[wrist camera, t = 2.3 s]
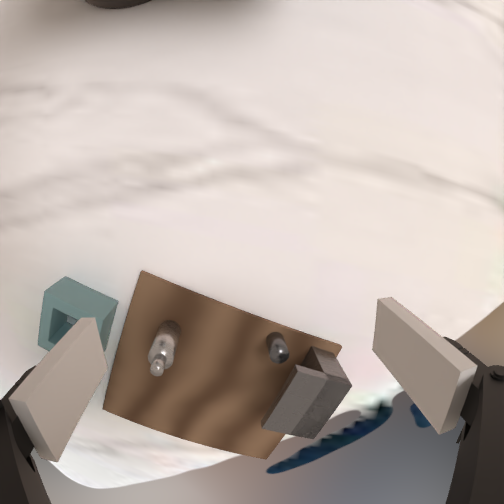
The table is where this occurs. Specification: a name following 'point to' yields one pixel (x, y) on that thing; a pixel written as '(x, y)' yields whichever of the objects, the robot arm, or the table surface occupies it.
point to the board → (203, 369)
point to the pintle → (164, 347)
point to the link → (73, 311)
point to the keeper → (305, 391)
